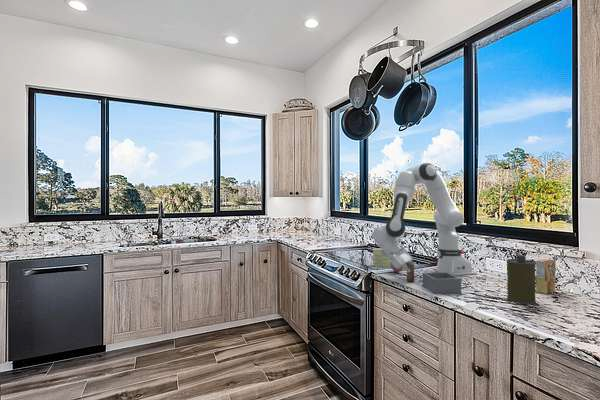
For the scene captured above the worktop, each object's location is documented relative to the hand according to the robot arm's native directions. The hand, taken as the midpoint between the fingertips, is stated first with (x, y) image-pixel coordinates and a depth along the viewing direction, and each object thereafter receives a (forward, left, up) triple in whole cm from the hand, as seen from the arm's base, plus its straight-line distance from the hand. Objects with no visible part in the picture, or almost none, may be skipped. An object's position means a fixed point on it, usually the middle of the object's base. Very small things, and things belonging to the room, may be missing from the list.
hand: (411, 270), depth 168 cm
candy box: (-57, +23, -6) cm, 61 cm away
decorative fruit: (0, -21, -6) cm, 22 cm away
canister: (-36, +34, -6) cm, 49 cm away
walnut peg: (0, 0, -6) cm, 6 cm away
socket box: (-9, +16, -6) cm, 19 cm away
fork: (-20, -41, -7) cm, 46 cm away
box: (+4, -40, -6) cm, 41 cm away
